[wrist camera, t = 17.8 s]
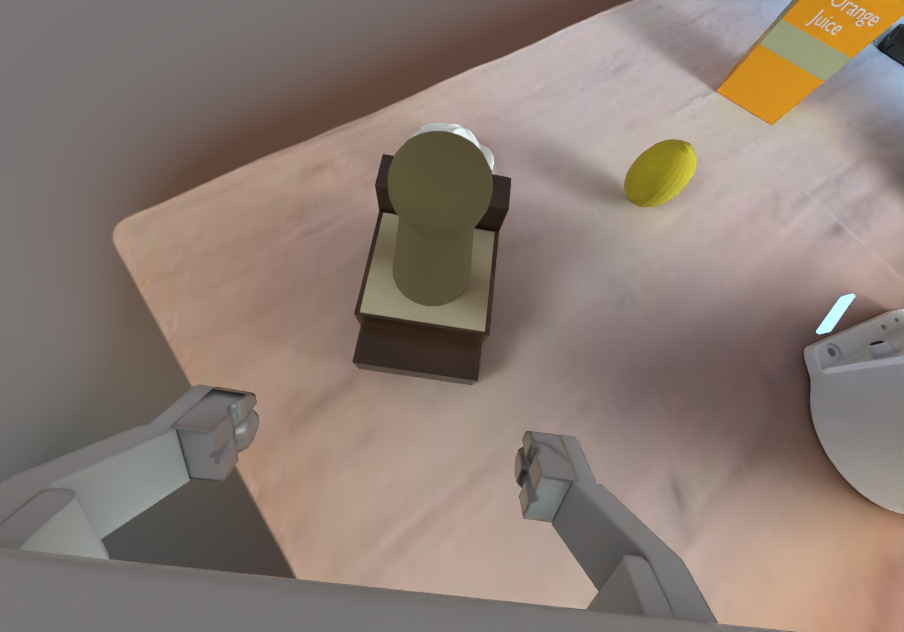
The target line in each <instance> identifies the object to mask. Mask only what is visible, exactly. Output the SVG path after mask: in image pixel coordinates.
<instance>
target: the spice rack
mask: <svg viewBox="0 0 904 632" xmlns="http://www.w3.org/2000/svg"><path fill="white" fill-rule="evenodd" d="M393 158H394V156H391V155H385V154H383V156H382V160H381V164H380V168H379V172H378V176H377V180H376V184H375V188H376V193H377V199H378V205H379V214H378V218H377V223H376V227H375V231H374V235H373V239H372V243H371V247H370V251H369V256H368V260H367V264H366V268H365V272H364V276H363V280H362V284H361V289H360V293H359V297H358V301H357V305H356V309H355V313H354V315H355V316H356V318H357V320H358V322H359V323H360V325H361V327H360V332H359V336H358V340H357V345H356V349H355V353H354V358H353V363H354V364H355V365H356V366H357V367H358V368H359V369H365V370H371V371H378V372H385V373H392V374H399V375H406V376H413V377H420V378H427V379H434V380H440V381H447V382H454V383H461V384H468V385H472V384H474V383H475V382H477V381H478V374H479V364H480V354H481V344H482V343H483V342H484V341H485V340H486V338H487V337H488V336H489V333H490V322H491V311H492V301H493V290H494V280H495V269H496V258H497V248H498V237H499V230H500V228H501V226H502V224H503V221H504V219H505V217H506V214H507V212H508V210H509V200H510V189H511V178H509V177H504V176H498V175H493V174H492V180H493V192H492V196H491V200H490V204H489V206H488V209H487V211H486V213H485V214H484V216H483V217H482V218H481V220H480V221H479V222H478V223H477V225H476V226H475V227H474V235H473V248H472V262H471V275H470V279H469V283H468V286H467V287H466V289H465V290H464V292H463V293H462V295H461V296H459V297H458V298H456V299H455V300H454V301H452V302H450V303H447V304H444V305H441V306H425V305H421V304H417V303H415V302H413V301H411V300H410V299H408V298H407V297H405V296H404V295H403V294H402V292H401V291H400V290H399V289H398V288H397V286H396V283H395V281H394V278H393V258H394V251H395V243H396V236H397V229H398V221H399V217H398V216H397V214H396V212H395V210H394V208H393V205H392V203H391V200H390V198H389V192H388V172H389V168H390V165H391V162H392V160H393Z"/></svg>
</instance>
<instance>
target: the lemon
mask: <svg viewBox="0 0 904 632" xmlns="http://www.w3.org/2000/svg"><path fill="white" fill-rule="evenodd" d="M696 166H697V157H696V153H695V151H694V149H693V148H692V146H691V144H690V143H688V142H684V141H682V140H676V139H673V140H665V141H662V142H659V143H657V144H655V145H653V146H652V147H650V148H649V149H647V150H646V151H645V152H644V153H642V154H641V155H640V156H639V157H638V158H637V159H636V161H635V162H634V163H633V164H632V166H631V167H630V169H629V171H628V173H627V175H626V178H625V183H624V188H625V193H626V196H627V197H628V199H629V200H630V201H631V202H632V203H634V204H635V205H638V206H641V207H654V206H659V205H661V204H663V203H665V202H667V201H669V200H671V199H672V198H674V197H675V196H676V195H677V194H679V193H680V192H681V190H682V189H683V188H684V187H685V186H686V185H687V184H688V182H689V181H690V180H691V178H692V176H693V174H694V172H695V169H696Z"/></svg>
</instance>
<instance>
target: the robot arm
mask: <svg viewBox="0 0 904 632" xmlns="http://www.w3.org/2000/svg"><path fill="white" fill-rule="evenodd" d="M854 297H855V295H854V294H849V295H845V296H842V297H840V298H839V300H838V301H837V303H836V304H835V305H834V307H833V308H832V310H831V311H830V312H829V314H828V315H827V317H826V318H825V319H824V321H823V322H822V324H821V325H820V326H819V328H818V329H817V331H816V332H817V333H818V334H822V333H827V332H831V330H832V329H833V327H834V326H835V324H836V323H837V321H838V320H839V319H840V317H841V316H842V314H843V313H844V311H845V310H846V309H847V307H848V306H849V304H850V303H851V301H852V300H853V298H854ZM804 358H805V362H806V366H807V369H808V372H809V375H810V380H811V388H810V409H811V415H812V420H813V423H814V427H815V430H816V433H817V435H818V438H819V440H820V442H821V444H822V446H823V448H824V450H825V452H826V454H827V455H828V457H829V458H830V460H831V462H832V463H833V464H834V466H835V467H836V468H837V470H838V471H839V472H840V473H841V475H842V476H843V477H844V478H845V479H846V480H847V481H848V482H849V483H850V484H851V485H852V486H853V487H854V488H855V489H856V490H857V491H858V492H860V493H861V494H862V495H863V496H865V497H866V498H868V499H869V500H870V501H872V502H874V503H875V504H877V505H879V506H881V507H883V508H885V509H887V510H890V511H893V512H896V513H900V514H904V308H903V309H897V310H891V311H888V312H886V313H883V314H881V315H878V316H876V317H874V318H871V319H869V320H867V321H864V322H862V323H860V324H857V325H855V326H853V327H850V328H848V329H846V330H843V331H841V332H838V333H836V334H834V335H831V336H829V337H827V338H824V339H822V340H820V341H817V342H815V343H813V344H810V345H808V346H806V347H805V349H804ZM256 404H257V401H256V395H255V394H254V393H252V392H246V391H240V390H234V389H227V388H221V387H213V386H207V385H201V384H199V385H196V386H193V387H192V388H191V389H190V390H189V391H187V392H186V393H185V394H184V395H183V396H181V397H180V398H179V399H178V400H177V401H176V402H174V403H173V404H172V405H171V406H170V407H169V408H167V409H166V410H165V411H164V412H163V413H162V414H160V415H159V416H158V417H157V418H156V419H155V420H153V421H152V422H151V423H150V424H149V425H139V426H137V427H134V428H132V429H129V430H127V431H124V432H122V433H119V434H117V435H114V436H112V437H109V438H107V439H104V440H102V441H99V442H97V443H94V444H92V445H89V446H87V447H84V448H81V449H79V450H77V451H74V452H71V453H69V454H67V455H64V456H61V457H59V458H56V459H54V460H52V461H49V462H46V463H44V464H41V465H39V466H36V467H34V468H31V469H29V470H26V471H24V472H21V473H19V474H16V475H14V476H11V477H9V478H6V479H4V480H2V481H1V482H0V632H794V631H785V630H775V629H766V628H756V627H747V626H737V625H728V624H718V622H717V620H716V619H715V617H714V615H713V613H712V611H711V610H710V608H709V606H708V604H707V602H706V601H705V599H704V597H703V595H702V594H701V592H700V590H699V588H698V586H697V585H696V583H695V581H694V579H693V578H692V576H691V574H690V572H689V570H688V569H687V567H686V565H685V563H684V561H683V560H682V559H681V558H680V557H679V556H678V555H677V554H676V553H675V552H673V551H672V550H671V549H670V548H669V547H668V546H667V545H666V544H665V543H664V542H663V541H662V540H661V539H660V538H659V537H657V536H656V535H655V534H654V533H653V532H652V531H651V530H650V529H649V528H648V527H647V526H646V525H645V524H644V523H642V522H641V521H640V520H639V519H638V518H637V517H636V516H635V515H634V514H633V513H632V512H631V511H630V510H629V509H628V508H626V507H625V506H624V505H623V504H622V503H621V502H620V501H619V500H618V499H617V498H616V497H615V496H614V495H613V494H611V493H610V492H609V491H608V490H607V489H606V488H605V487H604V486H603V485H601V484H597V483H596V480H595V478H594V476H593V474H592V471H591V469H590V467H589V464H588V462H587V460H586V458H585V455H584V453H583V451H582V448H581V446H580V444H579V442H578V439H577V438H576V437H574V436H566V435H557V434H550V433H542V432H534V431H526V432H525V433H524V436H523V438H522V442H523V447H522V448H520V449H519V450H518V452H517V455H516V460H515V477H516V482H517V483H518V485H519V486H520V487H521V488H522V490H521V492H520V495H519V499H520V504H521V509H522V515H523V518H524V519H531V520H537V521H544V522H551V523H552V525H553V527H554V528H555V530H556V531H557V533H558V534H559V535H560V537H561V538H562V540H563V541H564V543H565V544H566V545H567V547H568V548H569V550H570V551H571V553H572V554H573V555H574V557H575V558H576V560H577V561H578V563H579V564H580V565H581V567H582V568H583V570H584V571H585V573H586V574H587V575H588V577H589V578H590V580H591V581H592V583H593V584H594V585H595V587H596V588H597V590H598V591H599V592H598V593H597V595H596V596H595V597H594V599H593V600H592V602H591V603H590V605H589V606H588V608H587V609H586V610H585V609H576V608H566V607H557V606H547V605H538V604H528V603H518V602H509V601H500V600H490V599H481V598H471V597H462V596H453V595H443V594H434V593H424V592H415V591H406V590H396V589H387V588H377V587H368V586H358V585H349V584H339V583H330V582H320V581H311V580H301V579H291V578H281V577H271V576H263V575H253V574H244V573H234V572H225V571H215V570H206V569H196V568H187V567H178V566H168V565H159V564H148V563H140V562H130V561H120V560H111V559H109V557H108V556H109V554H108V552H107V551H106V548H105V547H104V545H103V543H102V541H101V539H102V538H103V537H105V536H106V535H108V534H110V533H111V532H112V531H114V530H116V529H117V528H119V527H120V526H122V525H123V524H125V523H126V522H128V521H129V520H131V519H132V518H134V517H135V516H137V515H138V514H140V513H141V512H143V511H144V510H146V509H147V508H149V507H150V506H152V505H153V504H155V503H156V502H158V501H159V500H161V499H162V498H164V497H166V496H167V495H169V494H170V493H172V492H173V491H174V490H176V489H178V488H179V487H181V486H182V485H184V484H185V483H187V482H188V481H189V480H190V479H200V480H210V481H221V482H223V481H224V480H225V479H226V477H227V476H228V474H229V473H230V472H231V470H232V469H233V468H234V466H235V465H236V464H237V462H238V461H239V460H238V453H239V452H241V451H243V450H245V449H246V448H248V447H249V445H250V444H251V443H252V441H253V440H254V438H255V435H256V433H257V430H258V426H259V416H258V414H257V413H256V412H255V411H254V409H253V407H254V406H255V405H256Z"/></svg>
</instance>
